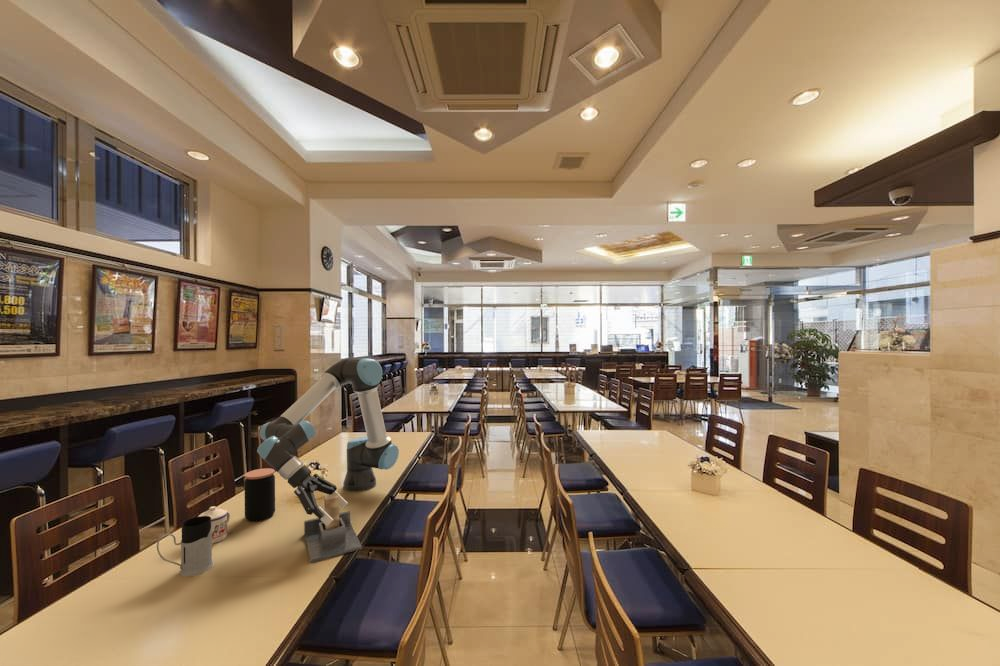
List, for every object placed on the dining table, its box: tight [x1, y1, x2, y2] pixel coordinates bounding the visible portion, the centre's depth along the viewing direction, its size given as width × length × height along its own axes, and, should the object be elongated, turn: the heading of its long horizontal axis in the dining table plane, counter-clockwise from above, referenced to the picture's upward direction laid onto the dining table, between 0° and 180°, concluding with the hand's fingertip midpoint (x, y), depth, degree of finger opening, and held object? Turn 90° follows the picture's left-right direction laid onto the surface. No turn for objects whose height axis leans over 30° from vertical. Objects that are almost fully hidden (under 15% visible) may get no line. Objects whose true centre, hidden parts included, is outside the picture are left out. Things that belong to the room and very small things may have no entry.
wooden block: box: [323, 492, 340, 530], centre depth 145 cm, size 4×4×15 cm
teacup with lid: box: [197, 505, 230, 545], centre depth 149 cm, size 12×9×12 cm
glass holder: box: [156, 516, 215, 578], centre depth 127 cm, size 9×14×15 cm, turn 141°
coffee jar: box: [244, 467, 276, 523], centre depth 165 cm, size 11×11×18 cm
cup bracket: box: [303, 510, 363, 564], centre depth 145 cm, size 16×22×6 cm
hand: (338, 514), depth 145 cm, fingers open, 13 cm apart
